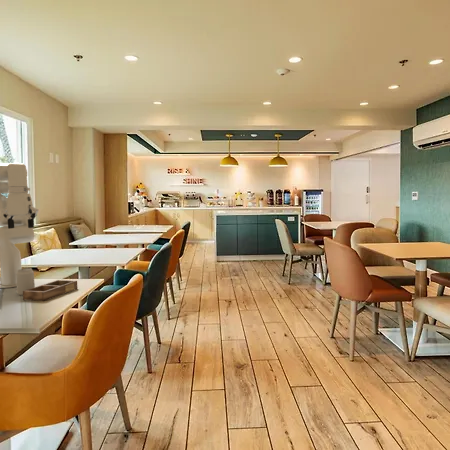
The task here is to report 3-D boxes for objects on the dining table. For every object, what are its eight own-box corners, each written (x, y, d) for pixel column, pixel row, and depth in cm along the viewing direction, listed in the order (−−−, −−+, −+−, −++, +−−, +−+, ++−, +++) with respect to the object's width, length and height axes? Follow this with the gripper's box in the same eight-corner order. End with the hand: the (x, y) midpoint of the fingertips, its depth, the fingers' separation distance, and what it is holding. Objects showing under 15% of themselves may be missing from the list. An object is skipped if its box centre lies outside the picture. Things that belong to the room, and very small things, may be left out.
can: (19, 292, 175) (18, 268, 174) (36, 291, 177) (35, 267, 176) (15, 296, 167) (13, 271, 166) (33, 295, 169) (31, 269, 169)
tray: (23, 299, 161) (22, 291, 161) (58, 287, 182) (57, 279, 182) (44, 301, 158) (44, 292, 158) (78, 288, 179) (77, 280, 179)
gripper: (41, 190, 166) (43, 227, 168) (6, 191, 168) (9, 227, 169) (31, 189, 159) (33, 228, 160) (-6, 191, 161) (-3, 229, 162)
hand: (21, 228), depth 165 cm, fingers open, 9 cm apart
